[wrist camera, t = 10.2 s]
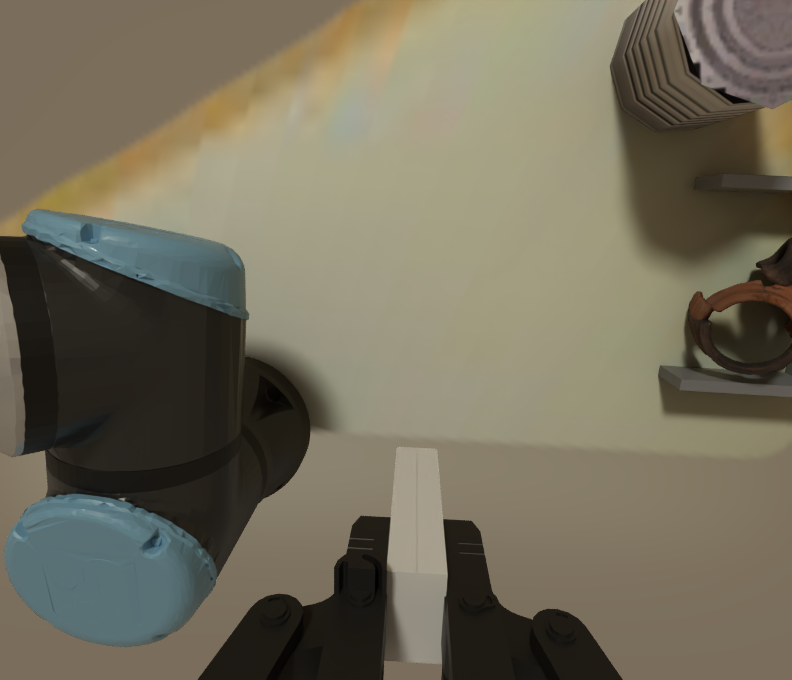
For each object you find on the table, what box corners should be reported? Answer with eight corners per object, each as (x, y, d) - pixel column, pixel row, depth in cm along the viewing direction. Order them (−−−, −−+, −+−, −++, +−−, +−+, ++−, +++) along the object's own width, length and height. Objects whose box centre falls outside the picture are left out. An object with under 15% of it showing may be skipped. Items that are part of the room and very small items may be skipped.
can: (589, 115, 41) (653, 77, 30) (639, -37, 39) (731, -145, 27) (718, 149, 42) (833, 125, 30) (778, 0, 39) (930, -91, 27)
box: (658, 375, 47) (679, 390, 43) (696, 177, 42) (723, 173, 38) (793, 383, 46) (827, 399, 42) (846, 183, 42) (890, 180, 38)
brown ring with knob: (786, 358, 46) (794, 400, 40) (676, 327, 50) (668, 362, 44) (854, 234, 40) (876, 261, 34) (723, 211, 44) (722, 231, 38)
